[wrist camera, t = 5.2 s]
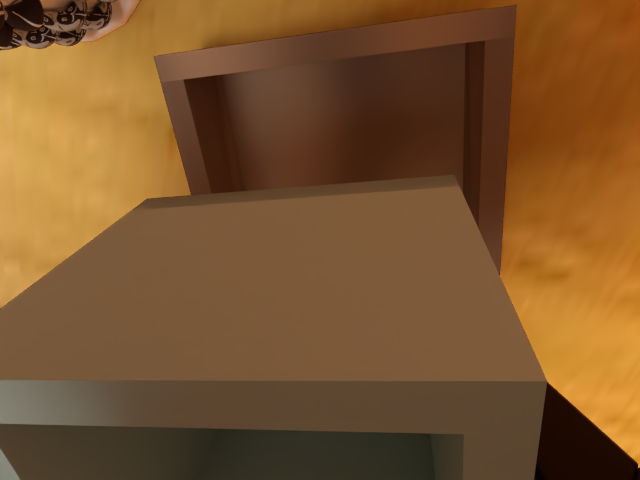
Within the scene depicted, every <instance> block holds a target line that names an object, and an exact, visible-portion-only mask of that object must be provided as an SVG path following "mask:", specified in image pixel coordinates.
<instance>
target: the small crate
mask: <svg viewBox="0 0 640 480" xmlns="http://www.w3.org/2000/svg"><path fill="white" fill-rule="evenodd" d="M546 386H547V380H546V378H545V375H544V373H543V371H542V369H541V366H540V364H539V362H538V360H537V358H536V355H535V353H534V351H533V349H532V346H531V344H530V342H529V340H528V338H527V335H526V333H525V331H524V329H523V326H522V324H521V322H520V320H519V318H518V315H517V313H516V311H515V309H514V306H513V304H512V302H511V300H510V298H509V295H508V293H507V291H506V289H505V286H504V284H503V282H502V280H501V278H500V275H499V273H498V271H497V269H496V266H495V264H494V262H493V260H492V258H491V255H490V253H489V251H488V249H487V246H486V244H485V242H484V240H483V238H482V235H481V233H480V231H479V229H478V226H477V224H476V222H475V220H474V218H473V215H472V213H471V211H470V209H469V206H468V204H467V202H466V200H465V198H464V195H463V193H462V191H461V189H460V186H459V184H458V182H457V180H456V178H455V175H445V176H432V177H419V178H406V179H394V180H381V181H368V182H355V183H343V184H330V185H317V186H304V187H291V188H279V189H266V190H253V191H240V192H227V193H215V194H202V195H189V196H176V197H163V198H151V199H146V200H145V201H143V202H142V203H141V204H139V205H138V206H137V207H135V208H134V209H133V210H131V211H130V212H129V213H127V214H126V215H125V216H123V217H122V218H121V219H119V220H118V221H117V222H115V223H114V224H113V225H111V226H110V227H109V228H107V229H106V230H105V231H103V232H102V233H101V234H99V235H98V236H97V237H95V238H94V239H93V240H91V241H90V242H89V243H87V244H86V245H85V246H83V247H82V248H81V249H79V250H78V251H77V252H75V253H74V254H73V255H71V256H70V257H69V258H67V259H66V260H65V261H63V262H62V263H61V264H59V265H58V266H57V267H55V268H54V269H53V270H51V271H50V272H49V273H47V274H46V275H45V276H43V277H42V278H41V279H39V280H38V281H37V282H35V283H34V284H33V285H31V286H30V287H29V288H27V289H26V290H25V291H23V292H22V293H21V294H19V295H18V296H17V297H15V298H14V299H13V300H11V301H10V302H9V303H7V304H6V305H5V306H3V307H2V308H1V309H0V480H534V476H535V468H536V461H537V454H538V446H539V439H540V431H541V424H542V416H543V409H544V401H545V394H546Z"/></svg>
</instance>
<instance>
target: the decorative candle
mask: <svg viewBox="0 0 640 480" xmlns="http://www.w3.org/2000/svg"><path fill="white" fill-rule="evenodd" d="M139 2H140V0H0V50H9V49H13V48H17V47H19V46H21V45H25V46H27V47H30V48H36V49H42V48H46V47H48V46H50V45H51V44H53V43H56V44H59V45H63V46H73V45H75V44H77V43H78V42H80V41H96V40H98V39H99V38H101V37H103V36H105V35H106V34H108V33H110V32H112V31H113V30H115V29H117V28H119V27H120V26H122V25H124V24H126V23H127V21H128V19H129V18H130V16H131V15H132V13H133V12H134V10H135V8H136V7H137V5H138V4H139Z"/></svg>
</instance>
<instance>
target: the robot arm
mask: <svg viewBox="0 0 640 480" xmlns="http://www.w3.org/2000/svg"><path fill="white" fill-rule="evenodd" d="M534 480H640V468H638V463H637V462H636V461H635V460H634V459H632V458H631V457H630V456H629V455H628V454H627V453H626V452H625V451H624V450H622V449H621V448H620V447H619V446H618V445H617V444H616V443H615V442H614V441H612V440H611V439H610V438H609V437H608V436H607V435H606V434H605V433H604V432H602V431H601V430H600V429H599V428H598V427H597V426H596V425H595V424H594V423H592V422H591V421H590V420H589V419H588V418H587V417H586V416H585V415H583V414H582V413H581V412H580V411H579V410H578V409H577V408H576V407H575V406H573V405H572V404H571V403H570V402H569V401H568V400H567V399H566V398H565V397H563V396H562V395H561V394H560V393H559V392H558V391H557V390H556V389H555V388H553V387H552V386H551V385H550V384H549V383H548V382H547V386H546V394H545V401H544V409H543V416H542V424H541V431H540V439H539V446H538V454H537V461H536V468H535V476H534Z"/></svg>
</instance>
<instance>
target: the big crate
mask: <svg viewBox="0 0 640 480" xmlns="http://www.w3.org/2000/svg"><path fill="white" fill-rule="evenodd" d="M515 22H516V5H513V6H505V7H497V8H489V9H482V10H475V11H468V12H461V13H454V14H447V15H440V16H432V17H425V18H418V19H411V20H404V21H397V22H390V23H383V24H376V25H369V26H362V27H355V28H348V29H341V30H333V31H326V32H319V33H312V34H305V35H298V36H291V37H284V38H277V39H270V40H263V41H256V42H249V43H242V44H235V45H227V46H220V47H213V48H206V49H199V50H192V51H186V52H179V53H172V54H166V55H159V56H154V60H155V63H156V67H157V71H158V74H159V78H160V82H161V85H162V89H163V93H164V96H165V100H166V104H167V107H168V111H169V115H170V118H171V122H172V126H173V129H174V133H175V137H176V140H177V144H178V148H179V152H180V155H181V159H182V163H183V166H184V170H185V174H186V177H187V181H188V185H189V188H190V192H191V195H202V194H215V193H227V192H240V191H253V190H266V189H279V188H291V187H304V186H317V185H330V184H343V183H355V182H368V181H381V180H394V179H406V178H419V177H432V176H445V175H455V178H456V180H457V182H458V184H459V186H460V189H461V191H462V193H463V195H464V198H465V200H466V202H467V204H468V206H469V209H470V211H471V213H472V215H473V218H474V220H475V222H476V224H477V226H478V229H479V231H480V233H481V235H482V238H483V240H484V242H485V244H486V246H487V249H488V251H489V253H490V255H491V258H492V260H493V262H494V264H495V266H496V269H497V271H498V273H499V275H500V266H501V250H502V234H503V218H504V201H505V185H506V169H507V152H508V136H509V120H510V103H511V87H512V71H513V54H514V38H515Z"/></svg>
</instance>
